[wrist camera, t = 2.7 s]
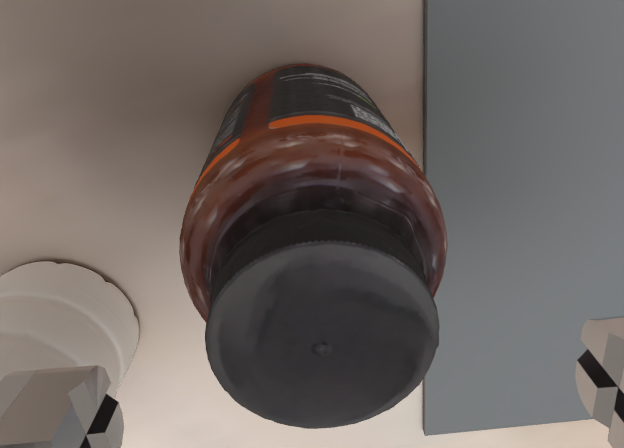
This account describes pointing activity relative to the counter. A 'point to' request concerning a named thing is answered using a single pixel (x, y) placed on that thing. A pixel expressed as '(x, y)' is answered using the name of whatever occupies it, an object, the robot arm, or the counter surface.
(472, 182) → the mat
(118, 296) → the water bottle
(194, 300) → the supplement bottle
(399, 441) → the counter surface
